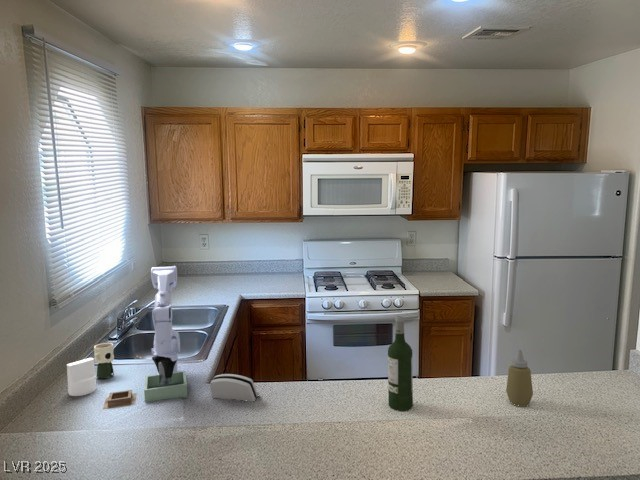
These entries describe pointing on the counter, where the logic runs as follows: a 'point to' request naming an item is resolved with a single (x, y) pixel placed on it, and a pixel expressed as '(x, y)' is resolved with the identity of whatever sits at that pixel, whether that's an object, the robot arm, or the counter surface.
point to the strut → (163, 375)
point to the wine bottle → (400, 370)
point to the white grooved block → (81, 377)
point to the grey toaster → (233, 387)
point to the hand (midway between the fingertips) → (165, 376)
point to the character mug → (104, 359)
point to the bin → (167, 390)
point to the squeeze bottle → (519, 381)
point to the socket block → (120, 399)
